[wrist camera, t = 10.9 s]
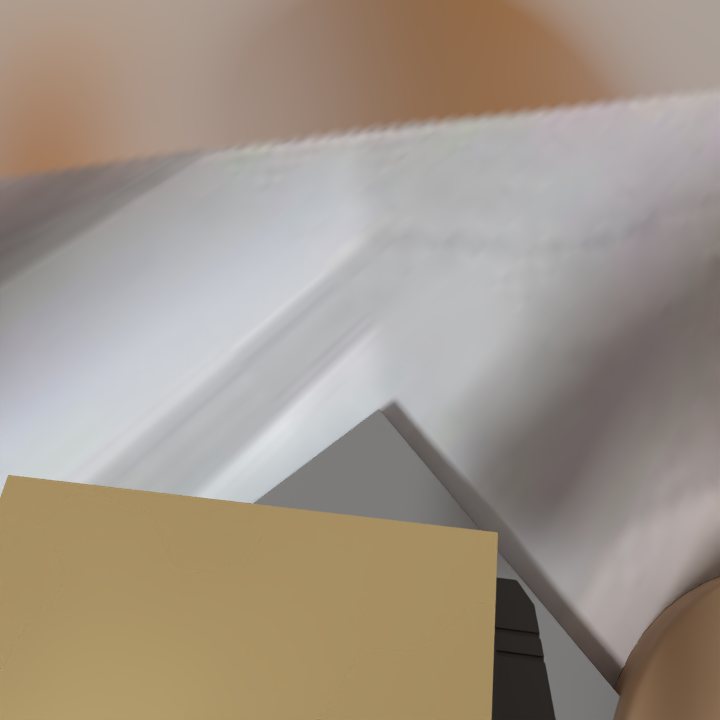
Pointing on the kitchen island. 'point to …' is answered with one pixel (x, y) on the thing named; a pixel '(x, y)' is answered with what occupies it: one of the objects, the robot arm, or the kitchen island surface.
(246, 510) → the brass bar
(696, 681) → the copper round socket base
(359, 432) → the mat
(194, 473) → the kitchen island surface
